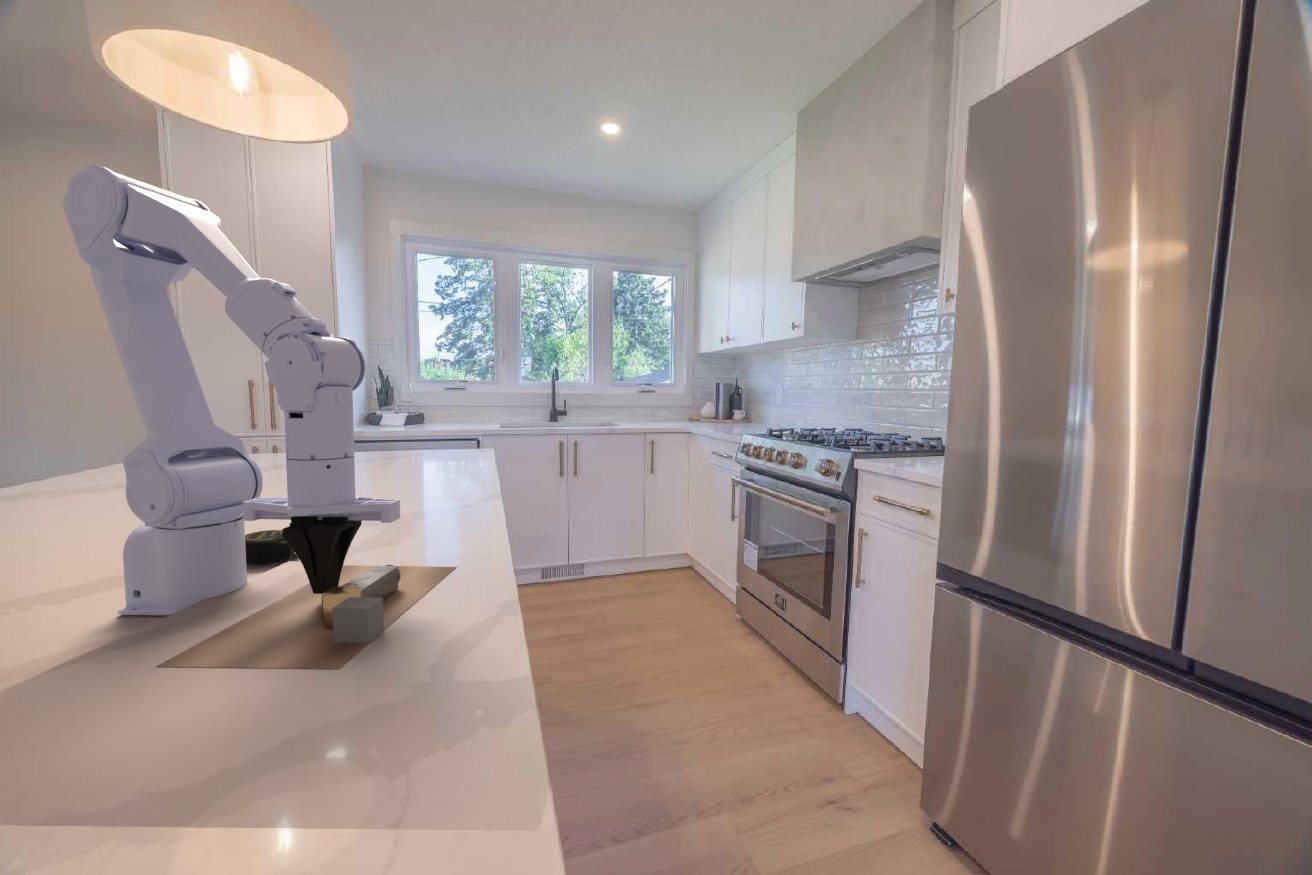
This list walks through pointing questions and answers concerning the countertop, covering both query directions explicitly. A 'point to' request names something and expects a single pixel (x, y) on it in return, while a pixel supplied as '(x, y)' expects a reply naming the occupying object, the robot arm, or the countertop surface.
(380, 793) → the countertop surface
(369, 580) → the gold-capped grey rod
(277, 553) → the tape measure
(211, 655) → the wooden board
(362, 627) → the block
